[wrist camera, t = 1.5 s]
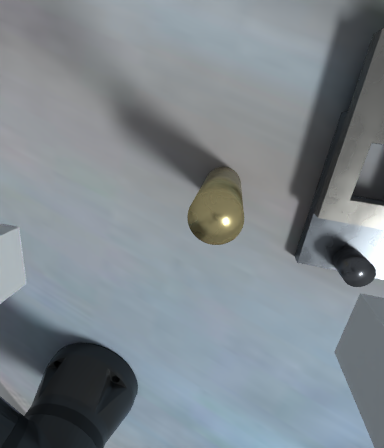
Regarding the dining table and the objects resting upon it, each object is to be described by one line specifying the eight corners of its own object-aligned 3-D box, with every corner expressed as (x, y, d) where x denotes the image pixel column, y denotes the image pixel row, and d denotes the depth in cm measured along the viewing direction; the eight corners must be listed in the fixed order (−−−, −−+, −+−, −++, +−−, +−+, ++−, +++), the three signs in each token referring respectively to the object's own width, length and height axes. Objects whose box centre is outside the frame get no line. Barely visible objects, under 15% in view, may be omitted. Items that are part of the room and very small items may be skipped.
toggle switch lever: (236, 204, 30) (237, 249, 19) (202, 198, 31) (184, 239, 19) (244, 170, 29) (249, 197, 18) (208, 164, 29) (191, 186, 18)
